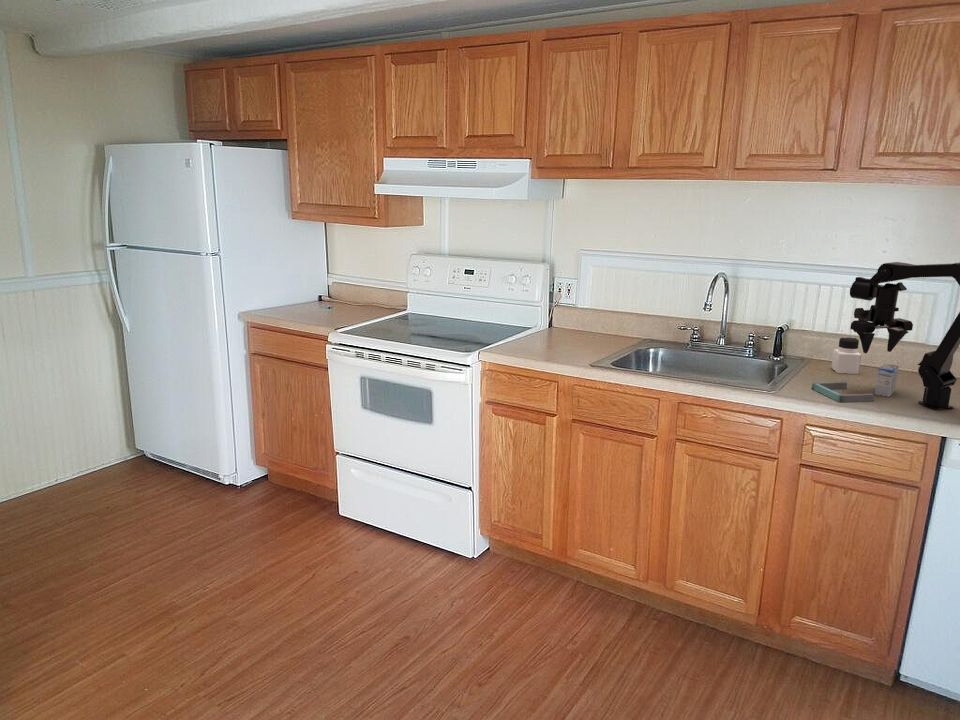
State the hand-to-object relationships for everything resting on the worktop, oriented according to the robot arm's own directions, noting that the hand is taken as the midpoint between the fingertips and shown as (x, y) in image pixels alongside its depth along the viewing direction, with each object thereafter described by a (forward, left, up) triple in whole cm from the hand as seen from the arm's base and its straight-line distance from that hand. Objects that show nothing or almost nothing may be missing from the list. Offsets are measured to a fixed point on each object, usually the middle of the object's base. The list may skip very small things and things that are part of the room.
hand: (877, 352), depth 223 cm
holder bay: (-3, +11, -13) cm, 17 cm away
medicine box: (-3, -3, -13) cm, 13 cm away
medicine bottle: (+23, -7, -13) cm, 27 cm away
